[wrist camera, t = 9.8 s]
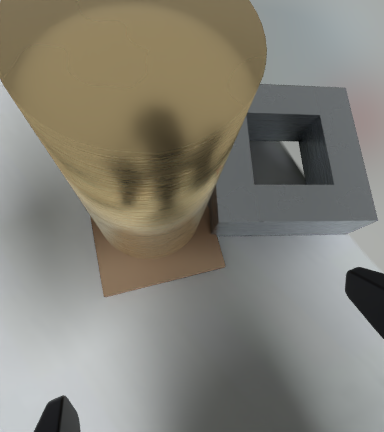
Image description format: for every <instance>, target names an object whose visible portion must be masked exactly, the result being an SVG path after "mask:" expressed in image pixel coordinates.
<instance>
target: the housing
mask: <svg viewBox="0 0 384 432" xmlns="http://www.w3.org/2000/svg"><path fill="white" fill-rule="evenodd" d="M249 140H257V141H299V146H300V152H301V158H302V164H303V170H304V175H305V181H306V185H254V177H253V169H252V160H251V152H250V143H249ZM208 207H209V214H210V229H211V234H217V236H272V235H331V234H348V233H350V232H353V231H355V230H357V229H360V228H362V227H364V226H367V225H369V224H371V223H373V222H376V221H378V219H377V215H376V210H375V207H374V202H373V198H372V194H371V190H370V186H369V182H368V178H367V174H366V169H365V165H364V162H363V157H362V153H361V149H360V145H359V141H358V137H357V133H356V129H355V124H354V120H353V117H352V113H351V108H350V104H349V100H348V96H347V92H346V88H339V87H315V86H293V85H292V86H291V85H269V84H260V85H259V87H258V90H257V92H256V94H255V96H254V99H253V101H252V103H251V106H250V108H249V110H248V112H247V115H246V117H245V119H244V122H243V124H242V126H241V128H240V131H239V133H238V135H237V138H236V140H235V142H234V144H233V147H232V149H231V151H230V154H229V156H228V158H227V161H226V163H225V165H224V167H223V170H222V172H221V174H220V177H219V179H218V181H217V183H216V186H215V188H214V190H213V193H212V195H211V197H210V199H209V202H208Z"/></svg>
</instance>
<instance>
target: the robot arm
mask: <svg viewBox="0 0 384 432" xmlns="http://www.w3.org/2000/svg"><path fill="white" fill-rule="evenodd" d="M345 292H346V294H347V296H348V298H349V299H350V300H351V301H352V302H353V304H354V305H355V306H356V307H357V308H358V310H359V311H360V312H361V313H362V314H363V316H364V317H365V318H366V319H367V320H368V322H369V323H370V324H371V325H372V326H373V328H374V329H375V330H376V331H377V332H378V333H379V334H380V336H381V337H382V338H383V339H384V274H383V273H379V272H376V271H372V270H369V269H365V268H362V267H356V268H354V269H352V270H349V271H348V272H347V273H346V283H345ZM34 432H80V423H79V417H78V414H77V412H76V410H75V408H74V407H73V405H72V404H71V403H70V401H69V400H68V398H67V397H66V396H64V395H63V396H60V397H58V398H55V399H53V400H51V401H49V402H48V404H47V405H46V407H45V409H44V411H43V413H42V416H41V418H40V420H39V422H38V424H37V426H36V428H35V430H34Z"/></svg>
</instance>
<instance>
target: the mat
mask: <svg viewBox="0 0 384 432" xmlns="http://www.w3.org/2000/svg"><path fill="white" fill-rule="evenodd" d="M90 217H91V216H90ZM91 223H92V229H93V235H94V241H95V247H96V253H97V259H98V265H99V271H100V277H101V282H102V288H103V294H104V297H108V296H112V295H116V294H120V293H124V292H128V291H132V290H136V289H140V288H144V287H148V286H152V285H156V284H160V283H164V282H168V281H172V280H176V279H180V278H184V277H188V276H192V275H196V274H200V273H204V272H208V271H212V270H216V269H220V268H224V267H225V262H224V259H223V255H222V252H221V248H220V245H219V241H218V238H217V234H211V229H210V214H209V207H208V204H207V206H206V209H205V211H204V213H203V216H202V218H201V220H200V222H199V225H198V227H197V229H196V231H195V233H194V235H193V236H192V238H191V239H190V240H189V242H188V243H187V244H185V245H184V246H183V247H182V248H181V249H179V250H178V251H176V252H174V253H173V254H170V255H168V256H165V257H161V258H156V259H141V258H135V257H132V256H129V255H126V254H124V253H122V252H121V251H119V250H117V249H116V248H115V247H114V246H112V245H111V244H110V243H109V242H108V241H107V239H106V238H105V236H104V235H103V233H102V232H101V230H100V229H99V227H98V226H97V224H96V223H95V221H94V220H93V218H92V217H91Z"/></svg>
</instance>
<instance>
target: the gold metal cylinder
mask: <svg viewBox="0 0 384 432" xmlns="http://www.w3.org/2000/svg"><path fill="white" fill-rule="evenodd" d="M266 55H267V47H266V38H265V34H264V30H263V26H262V23H261V21H260V19H259V17H258V14H257V12H256V11H255V9H254V7H253V6H252V4H251V2H250V1H249V0H1V1H0V79H1V81H2V83H3V85H4V87H5V88H6V90H7V91H8V93H9V94H10V96H11V97H12V99H13V100H14V102H15V103H16V105H17V106H18V108H19V109H20V111H21V112H22V114H23V115H24V117H25V118H26V120H27V121H28V123H29V124H30V126H31V127H32V129H33V130H34V132H35V133H36V135H37V136H38V138H39V139H40V141H41V142H42V144H43V145H44V147H45V148H46V150H47V151H48V153H49V154H50V156H51V157H52V159H53V160H54V162H55V163H56V165H57V166H58V168H59V169H60V171H61V172H62V174H63V175H64V177H65V178H66V180H67V181H68V183H69V184H70V186H71V187H72V189H73V190H74V192H75V193H76V195H77V196H78V198H79V199H80V201H81V202H82V204H83V205H84V207H85V208H86V210H87V211H88V213H89V214H90V216H91V217H92V218H93V220H94V221H95V223H96V224H97V226H98V227H99V229H100V230H101V232H102V233H103V235H104V236H105V238H106V239H107V241H108V242H109V243H110V244H111V245H112V246H114V247H115V248H116V249H117V250H119V251H121V252H122V253H124V254H126V255H129V256H132V257H135V258H141V259H156V258H161V257H165V256H168V255H170V254H173V253H174V252H176V251H178V250H179V249H181V248H182V247H183V246H184V245H185V244H187V243H188V242H189V240H190V239H191V238H192V236H193V235H194V233H195V231H196V229H197V227H198V225H199V222H200V220H201V218H202V216H203V213H204V211H205V209H206V206H207V204H208V202H209V199H210V197H211V195H212V193H213V190H214V188H215V186H216V183H217V181H218V179H219V177H220V174H221V172H222V170H223V167H224V165H225V163H226V161H227V158H228V156H229V154H230V151H231V149H232V147H233V144H234V142H235V140H236V138H237V135H238V133H239V131H240V128H241V126H242V124H243V122H244V119H245V117H246V115H247V112H248V110H249V108H250V106H251V103H252V101H253V99H254V96H255V94H256V92H257V90H258V87H259V85H260V82H261V80H262V77H263V74H264V70H265V65H266Z"/></svg>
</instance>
